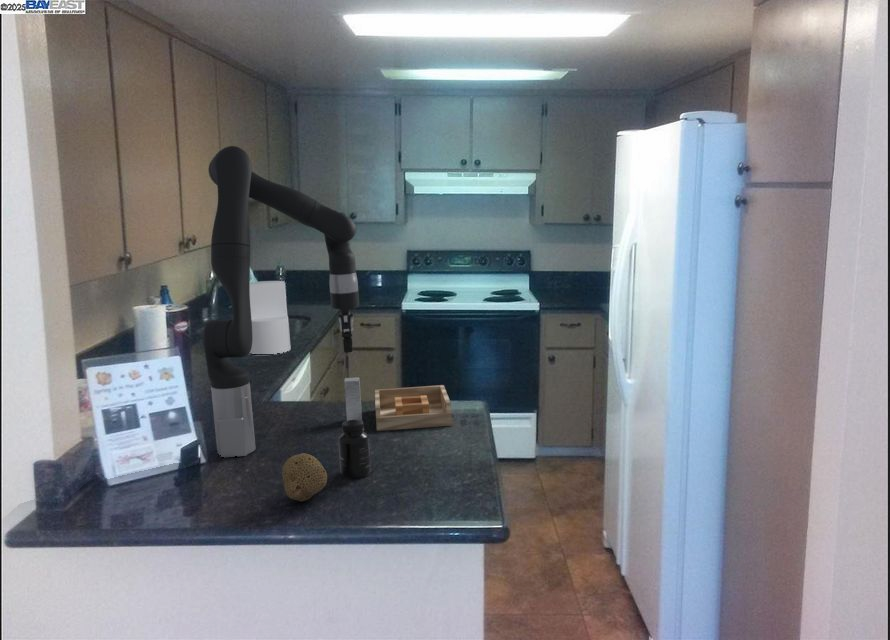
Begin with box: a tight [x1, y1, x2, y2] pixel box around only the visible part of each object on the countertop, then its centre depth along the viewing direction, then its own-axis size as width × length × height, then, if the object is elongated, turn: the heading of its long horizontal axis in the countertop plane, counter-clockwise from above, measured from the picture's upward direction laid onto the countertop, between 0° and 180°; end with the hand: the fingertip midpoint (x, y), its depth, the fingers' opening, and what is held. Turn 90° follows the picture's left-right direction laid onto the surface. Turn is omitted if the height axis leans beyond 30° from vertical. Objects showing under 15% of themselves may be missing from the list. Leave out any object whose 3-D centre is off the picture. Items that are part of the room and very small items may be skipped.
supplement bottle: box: [338, 420, 372, 480], centre depth 168 cm, size 7×7×12 cm
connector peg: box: [344, 377, 363, 421], centre depth 207 cm, size 4×4×12 cm
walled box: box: [374, 384, 453, 432], centre depth 209 cm, size 20×20×6 cm
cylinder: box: [250, 280, 292, 355], centre depth 309 cm, size 17×17×28 cm
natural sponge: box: [281, 452, 328, 502], centre depth 155 cm, size 9×9×10 cm
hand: (348, 348), depth 206 cm, fingers open, 8 cm apart
